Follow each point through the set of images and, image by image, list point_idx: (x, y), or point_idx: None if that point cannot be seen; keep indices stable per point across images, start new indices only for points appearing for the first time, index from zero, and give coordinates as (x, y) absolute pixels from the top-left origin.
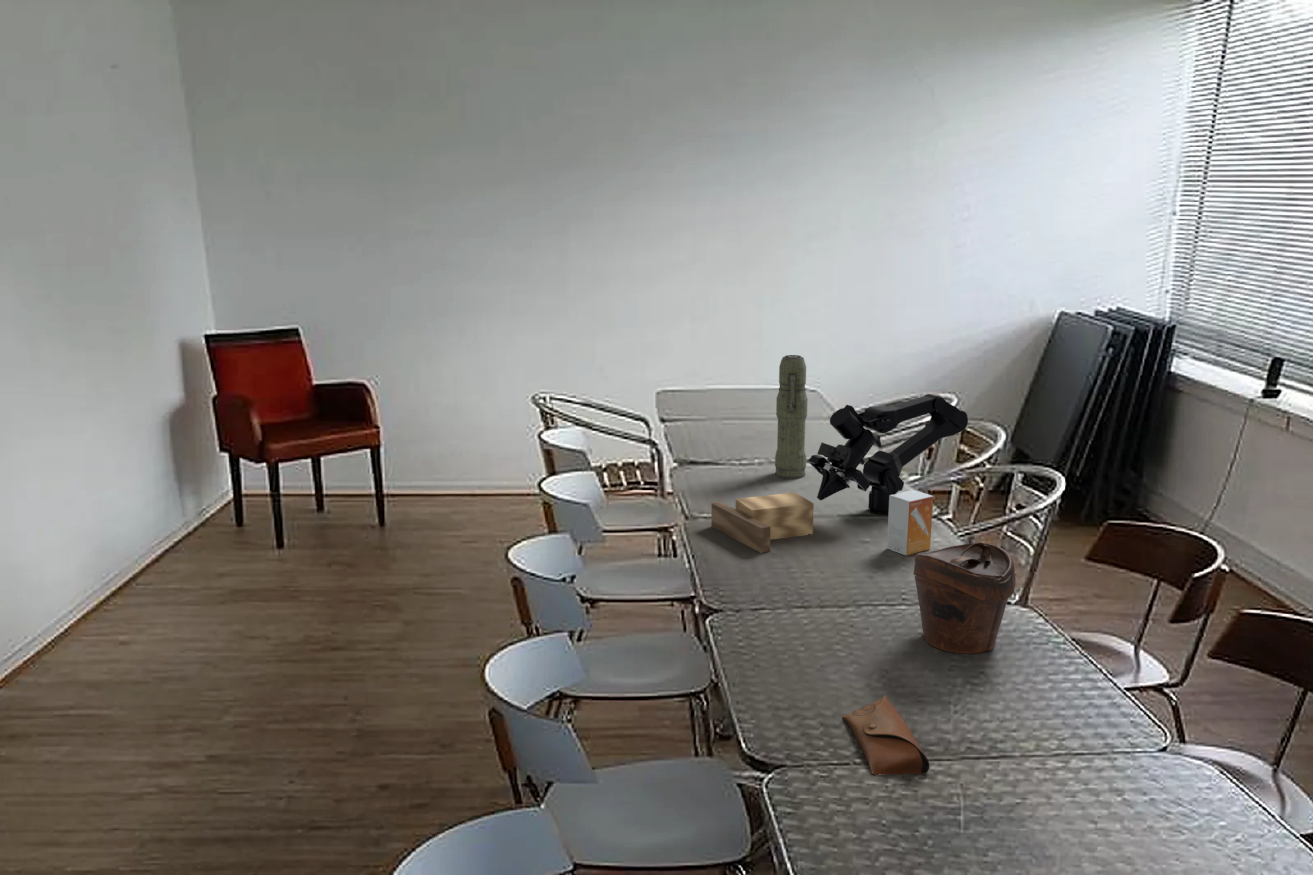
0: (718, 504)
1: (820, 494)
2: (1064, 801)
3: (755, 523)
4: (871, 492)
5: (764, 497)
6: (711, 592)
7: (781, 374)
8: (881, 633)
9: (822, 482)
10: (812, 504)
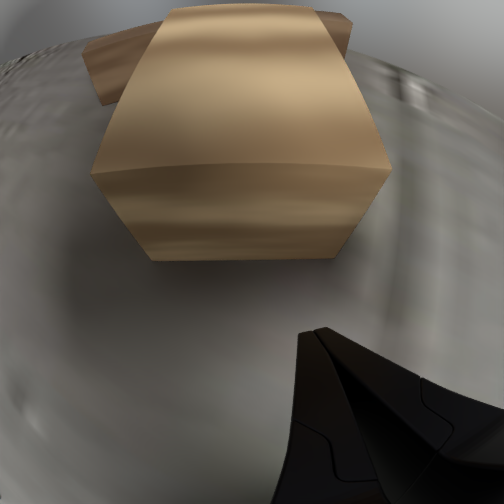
0: (328, 15)
1: (311, 348)
2: None
3: (125, 32)
4: None
5: (309, 41)
6: (52, 49)
7: None
8: None
9: (434, 397)
10: (94, 171)
